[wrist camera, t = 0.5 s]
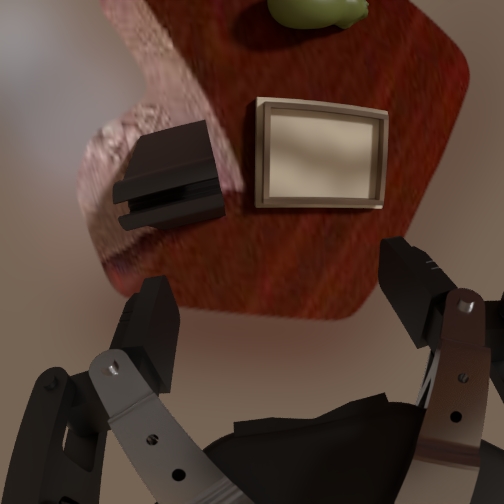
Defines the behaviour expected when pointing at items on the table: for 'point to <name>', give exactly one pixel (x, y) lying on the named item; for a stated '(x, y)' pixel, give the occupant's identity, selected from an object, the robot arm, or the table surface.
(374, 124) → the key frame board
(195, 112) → the table surface
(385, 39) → the table surface
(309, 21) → the pear
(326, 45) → the table surface
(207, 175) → the phone stand
